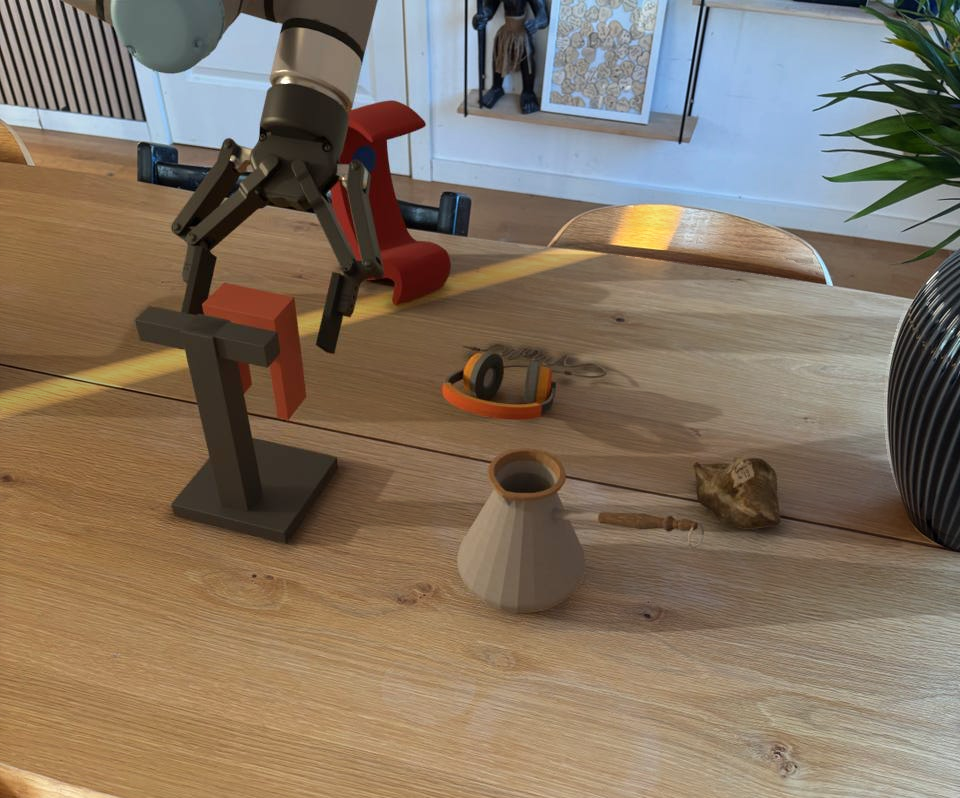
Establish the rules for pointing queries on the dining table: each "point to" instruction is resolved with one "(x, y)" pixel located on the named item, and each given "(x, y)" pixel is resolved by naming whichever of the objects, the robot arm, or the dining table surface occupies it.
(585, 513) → the coffee pot
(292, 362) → the clip
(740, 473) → the fossilized seashell
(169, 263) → the dining table surface
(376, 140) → the chair
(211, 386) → the stand
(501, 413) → the headphones
